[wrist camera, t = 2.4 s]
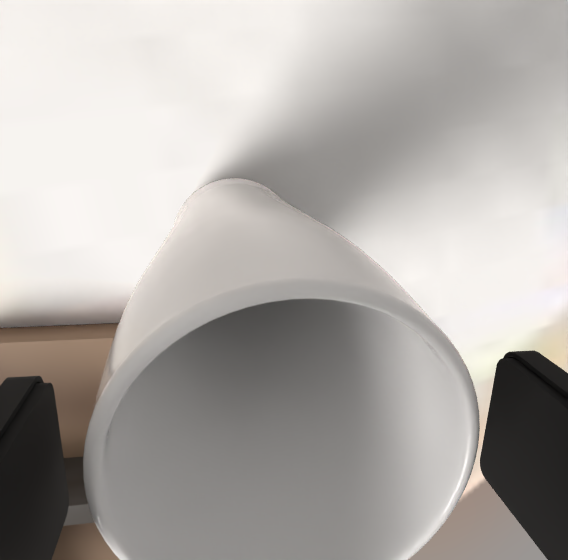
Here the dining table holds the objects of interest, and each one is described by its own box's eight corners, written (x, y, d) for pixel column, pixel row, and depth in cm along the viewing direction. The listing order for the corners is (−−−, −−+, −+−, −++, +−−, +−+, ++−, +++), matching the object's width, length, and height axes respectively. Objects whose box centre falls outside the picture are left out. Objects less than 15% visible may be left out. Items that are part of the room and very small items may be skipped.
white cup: (315, 163, 21) (531, 280, 7) (301, 307, 24) (447, 603, 10) (154, 153, 20) (57, 271, 6) (156, 305, 22) (87, 640, 9)
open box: (-18, 328, 22) (-70, 383, 17) (255, 317, 23) (267, 364, 19) (40, 619, 28) (11, 711, 23) (253, 591, 30) (262, 672, 25)
